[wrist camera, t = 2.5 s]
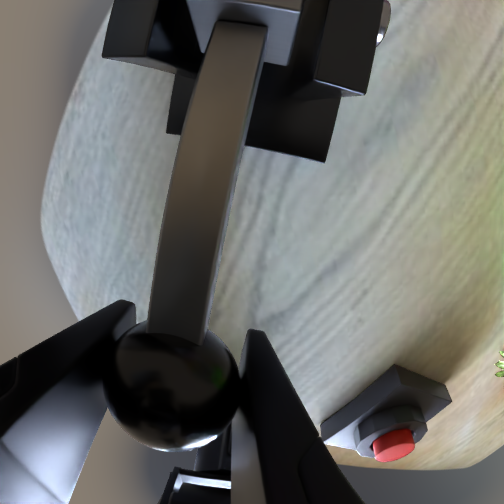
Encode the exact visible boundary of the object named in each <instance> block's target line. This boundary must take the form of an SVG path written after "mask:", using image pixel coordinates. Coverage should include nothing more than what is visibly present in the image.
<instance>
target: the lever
mask: <svg viewBox="0 0 504 504" xmlns="http://www.w3.org/2000/svg"><path fill="white" fill-rule="evenodd" d="M304 2H305V0H186V3H187V6H188V9H189V13H190V16H191V20H192V23H193V26H194V30H195V33H196V37H197V40H198V44H199V47H200V50H201V52H202V53H204V56H203V59H202V62H201V65H200V69H199V72H198V75H197V78H196V82H195V85H194V88H193V92H192V95H191V99H190V103H189V106H188V110H187V113H186V117H185V121H184V125H183V129H182V133H181V137H180V141H179V145H178V149H177V153H176V157H175V161H174V166H173V170H172V175H171V179H170V184H169V189H168V194H167V198H166V203H165V209H164V214H163V219H162V224H161V230H160V236H159V241H158V247H157V253H156V260H155V266H154V273H153V280H152V287H151V294H150V302H149V310H148V318H147V320H146V321H143V322H140V323H138V324H136V325H134V326H133V327H131V328H130V329H128V330H127V331H126V332H124V333H123V334H122V335H121V336H120V337H119V338H118V339H117V341H116V342H115V343H114V345H113V346H112V348H111V349H110V351H109V353H108V356H107V358H106V360H105V364H104V369H103V377H102V383H103V393H104V397H105V400H106V403H107V406H108V409H109V411H110V412H111V415H112V416H113V417H114V419H115V421H116V422H117V423H118V424H119V425H120V427H121V428H122V429H123V430H124V431H125V432H126V433H127V434H128V435H130V436H131V437H132V438H134V439H135V440H137V441H138V442H140V443H142V444H144V445H146V446H149V447H151V448H155V449H158V450H163V451H170V452H180V451H188V450H193V449H196V448H199V447H202V446H204V445H206V444H208V443H210V442H212V441H213V440H214V439H216V438H217V437H219V436H220V435H221V434H222V433H223V432H224V431H225V430H226V428H227V427H228V426H229V425H230V423H231V422H232V420H233V418H234V416H235V414H236V412H237V409H238V406H239V402H240V396H241V379H240V373H239V370H238V367H237V364H236V361H235V359H234V357H233V355H232V353H231V352H230V350H229V349H228V347H227V346H226V345H225V344H224V342H223V341H222V340H221V339H220V338H219V337H218V336H217V335H216V334H214V333H213V332H212V331H210V330H209V329H208V326H209V320H210V315H211V309H212V304H213V298H214V293H215V288H216V282H217V277H218V272H219V266H220V261H221V256H222V251H223V246H224V241H225V236H226V231H227V226H228V221H229V216H230V211H231V206H232V201H233V197H234V192H235V187H236V182H237V178H238V173H239V168H240V164H241V159H242V154H243V150H244V145H245V141H246V136H247V132H248V127H249V123H250V119H251V114H252V110H253V105H254V101H255V97H256V93H257V88H258V84H259V80H260V76H261V72H262V67H263V63H264V62H269V63H274V64H279V65H284V66H287V65H288V64H289V61H290V57H291V53H292V49H293V45H294V42H295V38H296V34H297V30H298V27H299V23H300V19H301V15H302V12H303V7H304Z"/></svg>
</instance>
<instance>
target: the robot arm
mask: <svg viewBox="0 0 504 504" xmlns="http://www.w3.org/2000/svg"><path fill="white" fill-rule="evenodd" d="M134 325H136V306H135V304H134V303H133V302H130V301H126V300H118V301H116V302H114V303H112V304H110V305H108V306H107V307H105V308H103V309H101V310H99V311H97V312H96V313H94V314H92V315H90V316H88V317H86V318H85V319H83V320H81V321H79V322H77V323H76V324H74V325H72V326H70V327H68V328H67V329H65V330H63V331H61V332H59V333H57V334H55V335H54V336H52V337H50V338H48V339H46V340H45V341H43V342H41V343H39V344H38V345H36V346H34V347H32V348H31V349H29V350H27V351H25V352H23V353H22V354H20V355H19V356H18V358H17V357H14V358H13V359H11V360H9V361H7V362H6V363H4V364H2V365H0V504H68V502H69V500H70V497H71V495H72V492H73V489H74V487H75V484H76V482H77V479H78V476H79V474H80V472H81V469H82V466H83V464H84V462H85V459H86V457H87V454H88V452H89V449H90V447H91V445H92V442H93V440H94V438H95V435H96V433H97V430H98V428H99V426H100V424H101V421H102V419H103V417H104V415H105V412H106V410H107V408H108V406H107V403H106V400H105V397H104V393H103V383H102V377H103V369H104V364H105V360H106V358H107V356H108V353H109V351H110V349H111V348H112V346H113V345H114V343H115V342H116V341H117V339H118V338H119V337H120V336H121V335H122V334H123V333H124V332H126V331H127V330H128V329H130V328H131V327H133V326H134ZM239 373H240V379H241V396H240V402H239V406H238V409H237V412H236V414H235V416H234V418H233V420H232V422H231V423H230V425H229V426H228V427H227V428H226V430H225V431H224V432H223V433H222V434H221V435H220V436H219V437H217V438H216V439H214V440H213V441H212V442H210V443H208V444H206V445H204V446H202V447H199V448H198V451H197V456H196V461H195V466H194V471H193V470H186V469H181V468H180V467H174V470H173V472H171V473H170V477H169V479H168V482H167V485H166V488H165V490H164V493H163V495H162V497H161V499H160V500H159V502H158V504H365V502H364V501H363V500H362V499H361V498H360V496H359V495H358V494H357V492H356V491H355V490H354V489H353V487H352V486H351V485H350V483H349V482H348V480H347V479H346V477H345V476H344V475H343V473H342V472H341V470H340V469H339V468H338V466H337V464H336V463H335V461H334V459H333V458H332V456H331V454H330V453H329V451H328V449H327V447H326V446H325V444H324V442H323V440H322V438H321V437H318V436H319V433H318V431H317V429H316V428H315V426H314V424H313V422H312V420H311V418H310V417H309V415H308V413H307V411H306V409H305V407H304V406H303V404H302V402H301V400H300V398H299V396H298V394H297V393H296V391H295V389H294V387H293V385H292V383H291V381H290V379H289V378H288V376H287V374H286V372H285V370H284V368H283V366H282V364H281V362H280V361H279V359H278V357H277V355H276V353H275V351H274V349H273V347H272V345H271V343H270V341H269V340H268V338H267V336H266V334H265V332H264V331H261V330H255V329H248V330H247V333H246V337H245V341H244V345H243V349H242V353H241V359H240V365H239Z"/></svg>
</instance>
